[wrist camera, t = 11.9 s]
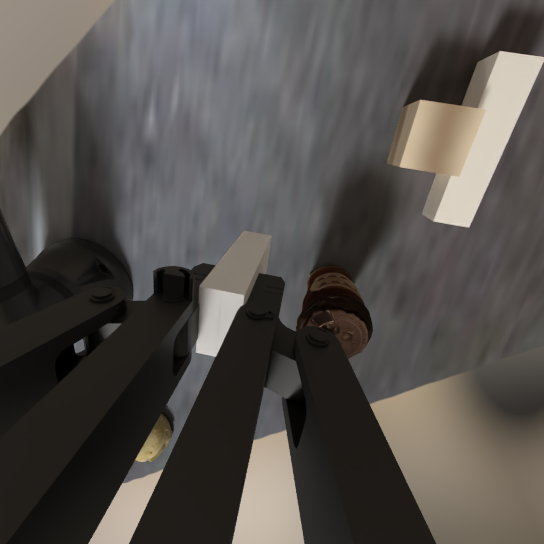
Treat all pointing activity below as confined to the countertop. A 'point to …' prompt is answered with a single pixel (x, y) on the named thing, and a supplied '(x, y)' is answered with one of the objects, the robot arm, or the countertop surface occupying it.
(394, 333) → the countertop surface
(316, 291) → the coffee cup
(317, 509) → the robot arm
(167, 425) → the pastry
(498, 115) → the white rectangular bar
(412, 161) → the block
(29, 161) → the countertop surface
